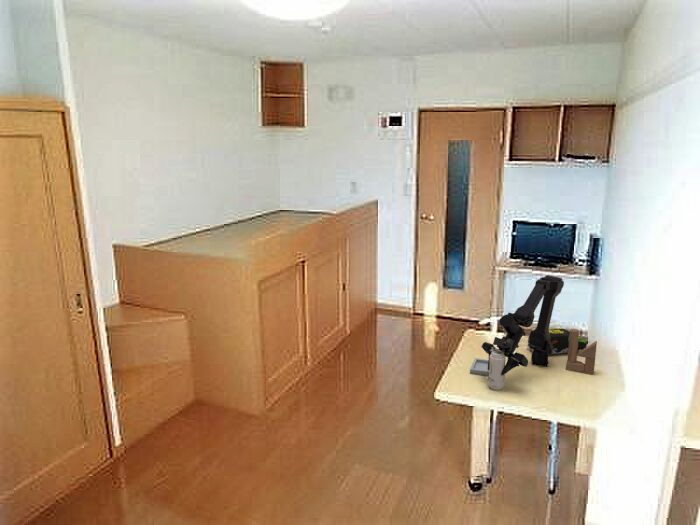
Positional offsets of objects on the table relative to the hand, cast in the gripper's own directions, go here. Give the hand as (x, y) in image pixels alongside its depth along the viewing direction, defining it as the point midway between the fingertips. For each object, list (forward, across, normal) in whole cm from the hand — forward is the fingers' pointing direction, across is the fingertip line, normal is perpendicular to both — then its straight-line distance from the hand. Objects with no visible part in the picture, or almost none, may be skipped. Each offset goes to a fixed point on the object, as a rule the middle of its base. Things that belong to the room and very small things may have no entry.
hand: (494, 372), depth 204 cm
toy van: (-32, -2, +42) cm, 53 cm away
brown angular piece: (-23, +15, +34) cm, 44 cm away
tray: (-4, -12, +14) cm, 19 cm away
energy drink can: (+4, 0, +6) cm, 7 cm away
